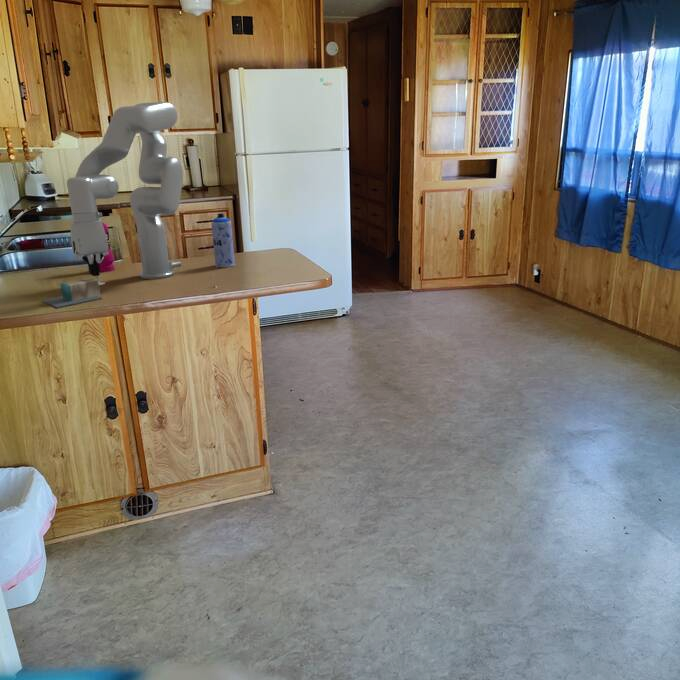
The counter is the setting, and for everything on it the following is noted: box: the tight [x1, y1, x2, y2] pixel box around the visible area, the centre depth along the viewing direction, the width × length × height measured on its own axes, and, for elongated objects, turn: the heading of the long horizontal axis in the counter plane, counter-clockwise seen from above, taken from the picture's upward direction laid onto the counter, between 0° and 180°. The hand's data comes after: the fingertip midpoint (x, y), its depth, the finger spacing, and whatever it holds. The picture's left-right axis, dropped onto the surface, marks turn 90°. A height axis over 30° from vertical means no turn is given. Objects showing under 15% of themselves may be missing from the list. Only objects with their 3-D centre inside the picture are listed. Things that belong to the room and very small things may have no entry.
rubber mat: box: [42, 295, 103, 309], centre depth 192 cm, size 14×12×1 cm
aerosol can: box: [211, 213, 236, 268], centre depth 233 cm, size 8×8×20 cm
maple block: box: [59, 277, 101, 302], centre depth 193 cm, size 5×5×10 cm
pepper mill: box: [99, 217, 115, 273], centre depth 232 cm, size 7×7×20 cm
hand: (95, 275), depth 196 cm, fingers closed
